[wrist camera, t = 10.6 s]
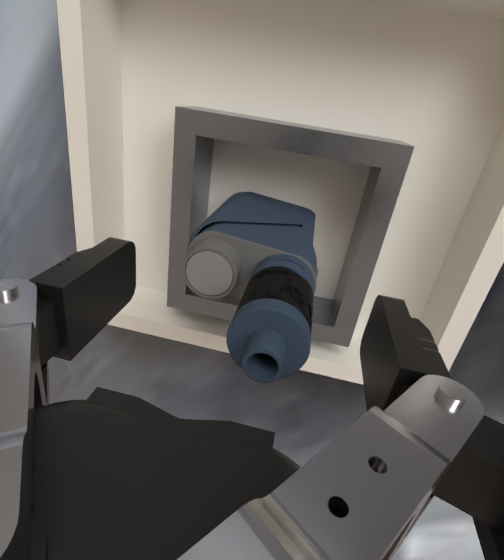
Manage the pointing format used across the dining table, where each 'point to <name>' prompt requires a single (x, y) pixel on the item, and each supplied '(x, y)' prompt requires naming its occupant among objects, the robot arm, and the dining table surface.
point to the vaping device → (259, 279)
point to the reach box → (288, 165)
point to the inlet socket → (299, 139)
